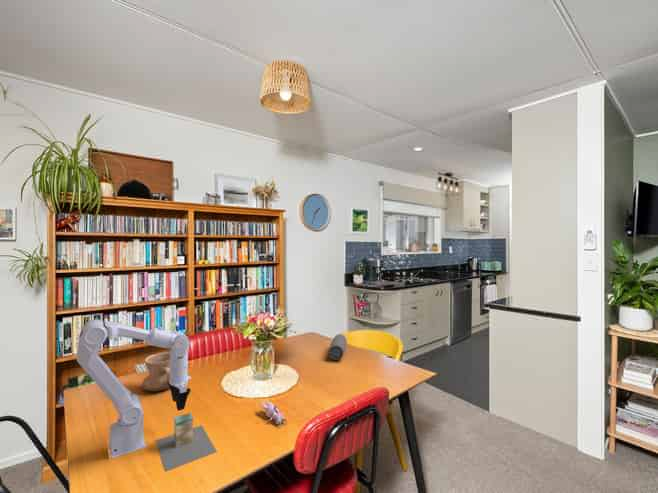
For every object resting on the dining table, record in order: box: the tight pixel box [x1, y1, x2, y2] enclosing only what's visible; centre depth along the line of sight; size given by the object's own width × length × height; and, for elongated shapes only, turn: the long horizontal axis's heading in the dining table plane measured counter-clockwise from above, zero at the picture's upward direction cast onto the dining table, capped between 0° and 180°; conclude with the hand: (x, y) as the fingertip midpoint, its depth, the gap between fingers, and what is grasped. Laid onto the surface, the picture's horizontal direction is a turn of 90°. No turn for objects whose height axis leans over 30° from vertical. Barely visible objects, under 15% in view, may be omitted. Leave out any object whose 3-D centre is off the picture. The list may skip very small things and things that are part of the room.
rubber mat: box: [155, 425, 218, 473], centre depth 103 cm, size 15×18×1 cm
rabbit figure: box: [260, 401, 288, 427], centre depth 121 cm, size 6×6×15 cm
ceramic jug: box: [141, 352, 170, 392], centre depth 145 cm, size 18×14×14 cm
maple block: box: [173, 412, 194, 447], centre depth 105 cm, size 5×4×8 cm
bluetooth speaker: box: [328, 333, 348, 361], centre depth 190 cm, size 23×9×10 cm, turn 172°
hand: (178, 405), depth 112 cm, fingers open, 7 cm apart
